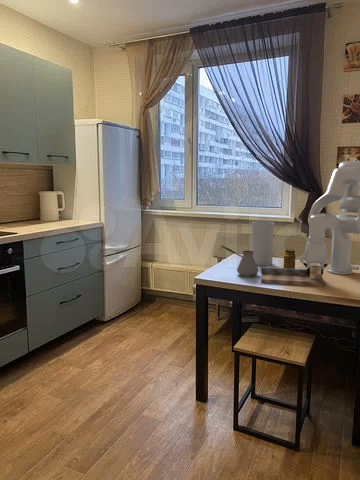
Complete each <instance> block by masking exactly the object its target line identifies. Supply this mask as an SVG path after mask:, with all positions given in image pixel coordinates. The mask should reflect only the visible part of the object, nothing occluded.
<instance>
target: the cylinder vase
mask: <svg viewBox="0 0 360 480" xmlns="http://www.w3.org/2000/svg"><path fill="white" fill-rule="evenodd" d="M251 223H252V224H251V250H250V251H254V253H253V258H254V260H255V263H256V265H257V266H261V267H265V266H270V265H272V264H273V256H274V255H273V253H274V227H275V226H274V225H275V222H274V221H270V220H257V221H256V220H255V221H252V222H251Z"/></svg>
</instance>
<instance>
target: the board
mask: <svg viewBox="0 0 360 480" xmlns="http://www.w3.org/2000/svg"><path fill="white" fill-rule="evenodd" d="M260 272H261V273H260V276H261V277H260V284H273V285H285V286H286V285H288V286H304V287H305V286H307V287H322V288H323V287H324V288H325V287H326V282H325V280H324V278H323V276H322V277H321V280H320V279H317V281H316V279H310V278H309V276H308V274H307V268H306V269H304V268H303V269H301V268H295V269H287V268H284V267H283V268H282V267H265V266H261V270H260Z"/></svg>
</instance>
